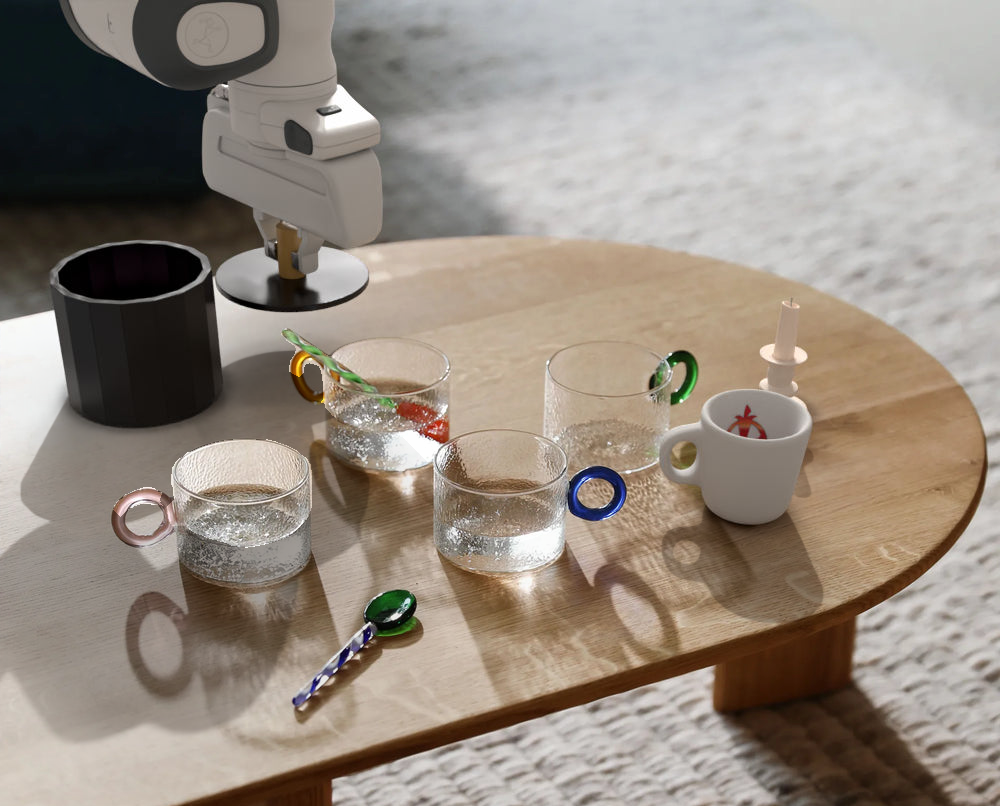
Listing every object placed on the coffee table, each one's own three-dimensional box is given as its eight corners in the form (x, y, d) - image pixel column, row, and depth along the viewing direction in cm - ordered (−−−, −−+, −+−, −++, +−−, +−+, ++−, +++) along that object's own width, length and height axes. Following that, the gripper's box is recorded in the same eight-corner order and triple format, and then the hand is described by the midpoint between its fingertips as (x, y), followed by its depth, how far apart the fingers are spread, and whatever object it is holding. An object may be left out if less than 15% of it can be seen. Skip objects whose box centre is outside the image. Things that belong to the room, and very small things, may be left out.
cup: (661, 537, 101) (670, 441, 97) (647, 478, 108) (655, 387, 104) (808, 536, 102) (824, 441, 97) (786, 478, 108) (799, 387, 104)
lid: (206, 263, 127) (201, 203, 124) (351, 250, 130) (350, 192, 127) (227, 326, 116) (222, 262, 113) (384, 310, 120) (383, 248, 117)
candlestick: (786, 392, 120) (803, 280, 115) (818, 421, 116) (837, 306, 111) (732, 401, 119) (747, 288, 113) (762, 430, 115) (779, 315, 109)
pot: (66, 366, 122) (46, 248, 116) (212, 350, 125) (200, 234, 119) (73, 437, 112) (52, 311, 106) (231, 417, 115) (220, 294, 109)
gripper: (177, 85, 119) (191, 238, 126) (333, 146, 107) (339, 311, 114) (237, 72, 122) (247, 221, 130) (395, 129, 111) (396, 289, 118)
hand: (291, 264), depth 122 cm, fingers closed on lid, 2 cm apart
